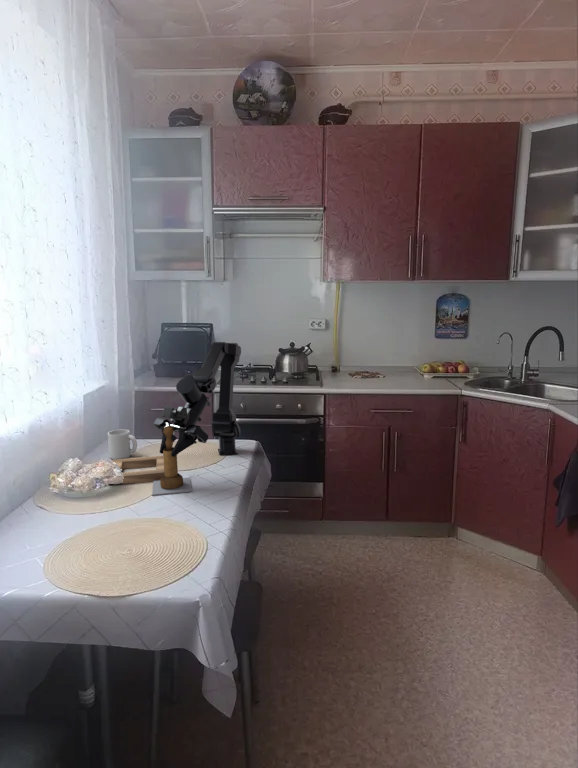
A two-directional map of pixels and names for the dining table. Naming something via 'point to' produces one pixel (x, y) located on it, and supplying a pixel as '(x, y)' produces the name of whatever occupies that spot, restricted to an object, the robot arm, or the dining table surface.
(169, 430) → the wooden pepper mill
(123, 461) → the walnut holder
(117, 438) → the cup
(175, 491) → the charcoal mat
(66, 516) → the dining table surface
